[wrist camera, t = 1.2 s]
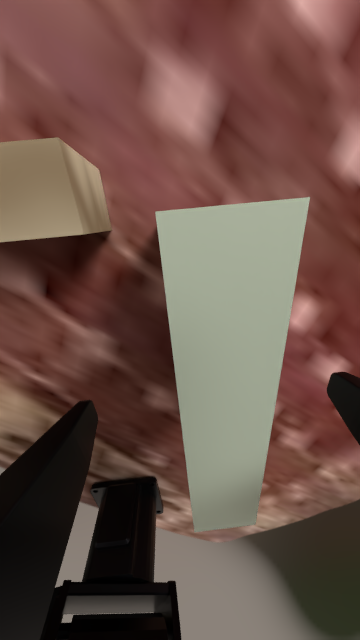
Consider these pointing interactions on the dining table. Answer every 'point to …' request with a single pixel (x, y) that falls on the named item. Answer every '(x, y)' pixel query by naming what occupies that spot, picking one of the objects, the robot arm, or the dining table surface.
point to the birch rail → (48, 192)
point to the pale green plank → (229, 342)
